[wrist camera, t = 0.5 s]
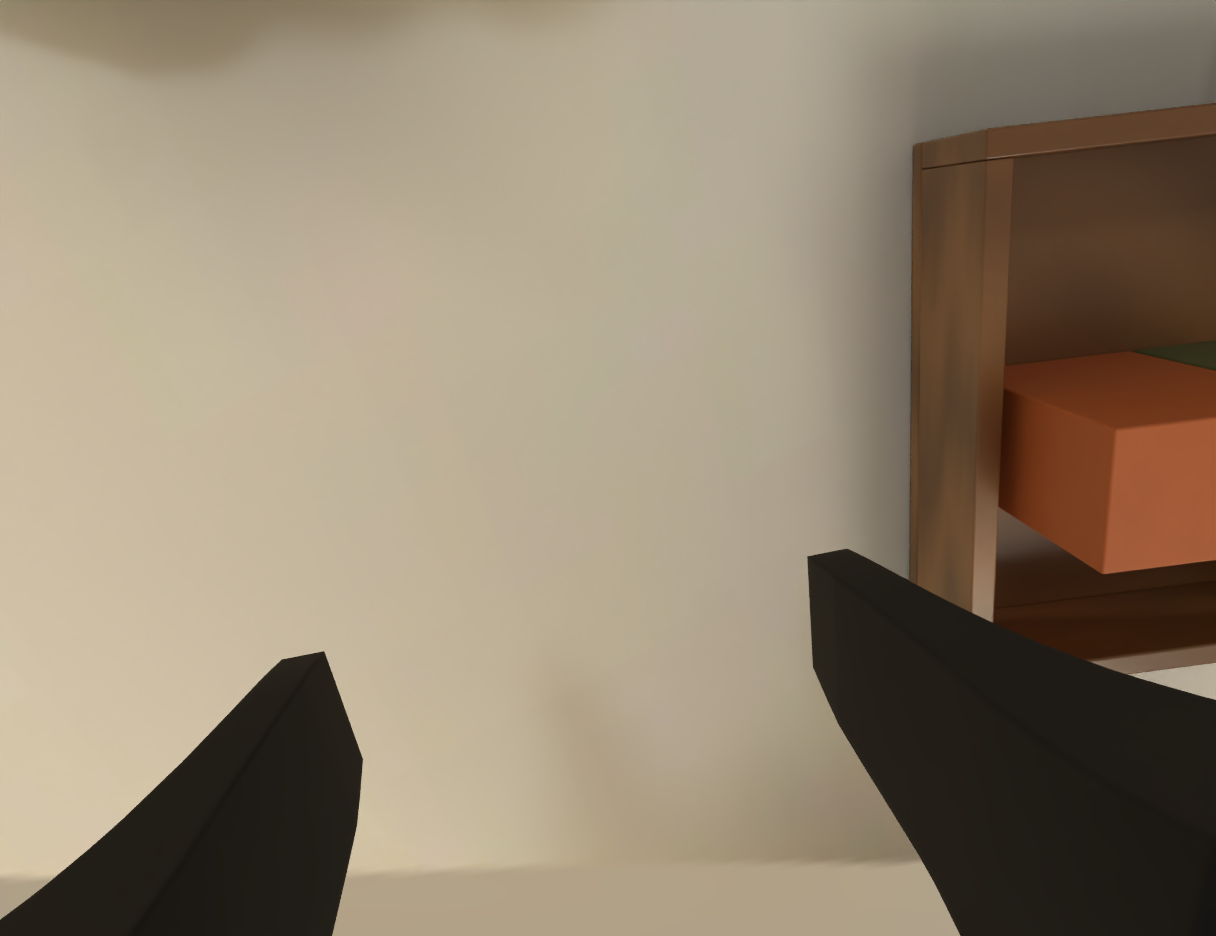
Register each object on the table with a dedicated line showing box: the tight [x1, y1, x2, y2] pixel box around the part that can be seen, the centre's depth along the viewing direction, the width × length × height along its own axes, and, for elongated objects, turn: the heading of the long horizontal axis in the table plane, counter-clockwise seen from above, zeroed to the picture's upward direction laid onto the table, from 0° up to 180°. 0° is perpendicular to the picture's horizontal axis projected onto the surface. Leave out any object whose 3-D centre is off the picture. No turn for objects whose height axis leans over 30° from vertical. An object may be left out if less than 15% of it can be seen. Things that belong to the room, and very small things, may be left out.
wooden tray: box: [910, 103, 1216, 674], centre depth 20 cm, size 13×11×4 cm
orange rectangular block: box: [999, 351, 1216, 574], centre depth 18 cm, size 3×4×6 cm, turn 96°
